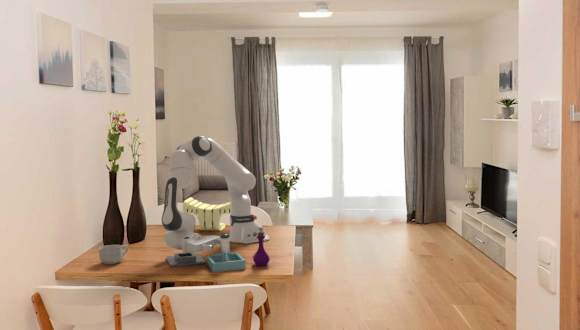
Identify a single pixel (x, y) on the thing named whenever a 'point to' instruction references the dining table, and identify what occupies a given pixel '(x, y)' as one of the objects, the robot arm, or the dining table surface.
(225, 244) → the lock pin
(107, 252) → the teacup
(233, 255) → the tray
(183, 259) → the tensioner plate
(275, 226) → the dining table surface
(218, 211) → the slatted curved stool
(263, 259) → the perfume bottle
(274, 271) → the dining table surface
